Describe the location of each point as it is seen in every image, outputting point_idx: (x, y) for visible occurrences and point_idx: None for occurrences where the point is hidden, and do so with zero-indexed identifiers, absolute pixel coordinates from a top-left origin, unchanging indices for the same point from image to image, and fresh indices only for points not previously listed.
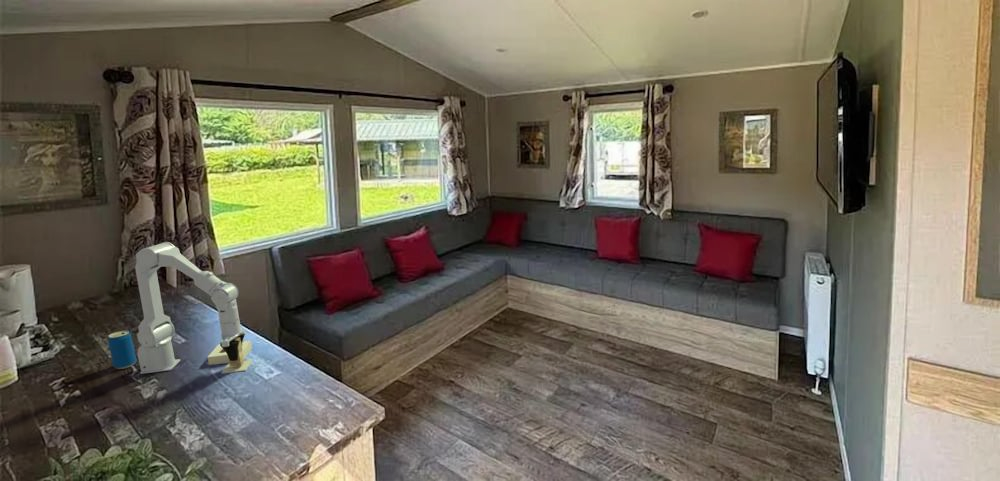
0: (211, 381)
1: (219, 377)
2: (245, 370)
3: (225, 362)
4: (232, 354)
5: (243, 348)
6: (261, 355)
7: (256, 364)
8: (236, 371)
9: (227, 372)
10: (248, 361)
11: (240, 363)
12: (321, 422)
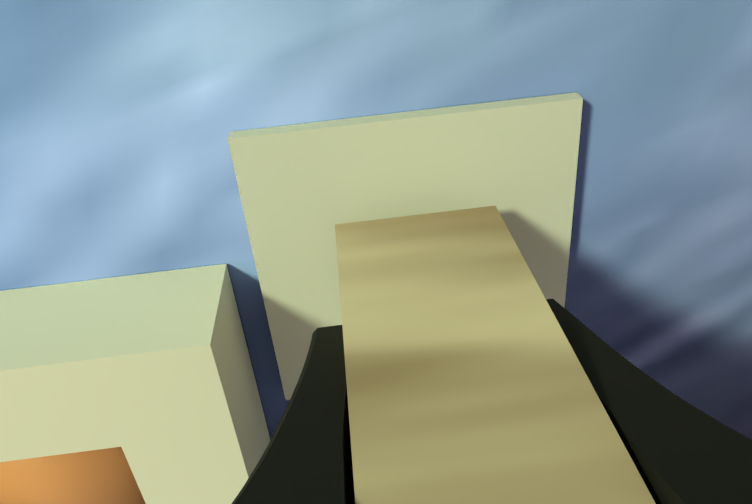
0: (710, 374)
1: (643, 340)
2: (580, 101)
3: (268, 436)
4: None
5: (15, 392)
6: (10, 57)
7: (376, 7)
8: (569, 215)
9: None
10: (285, 174)
11: (507, 229)
12: None
